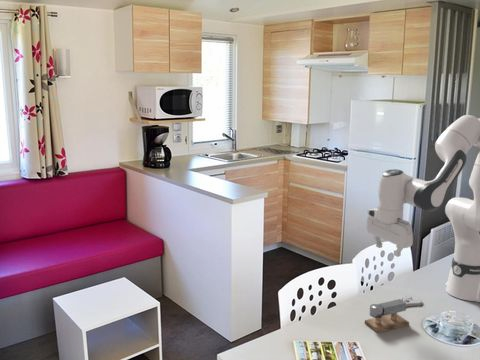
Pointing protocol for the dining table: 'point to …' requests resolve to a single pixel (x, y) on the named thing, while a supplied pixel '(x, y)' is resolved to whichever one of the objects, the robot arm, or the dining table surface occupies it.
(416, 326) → the dining table surface
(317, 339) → the dining table surface
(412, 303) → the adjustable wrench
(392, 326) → the peg rack
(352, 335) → the dining table surface
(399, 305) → the gray flashlight
